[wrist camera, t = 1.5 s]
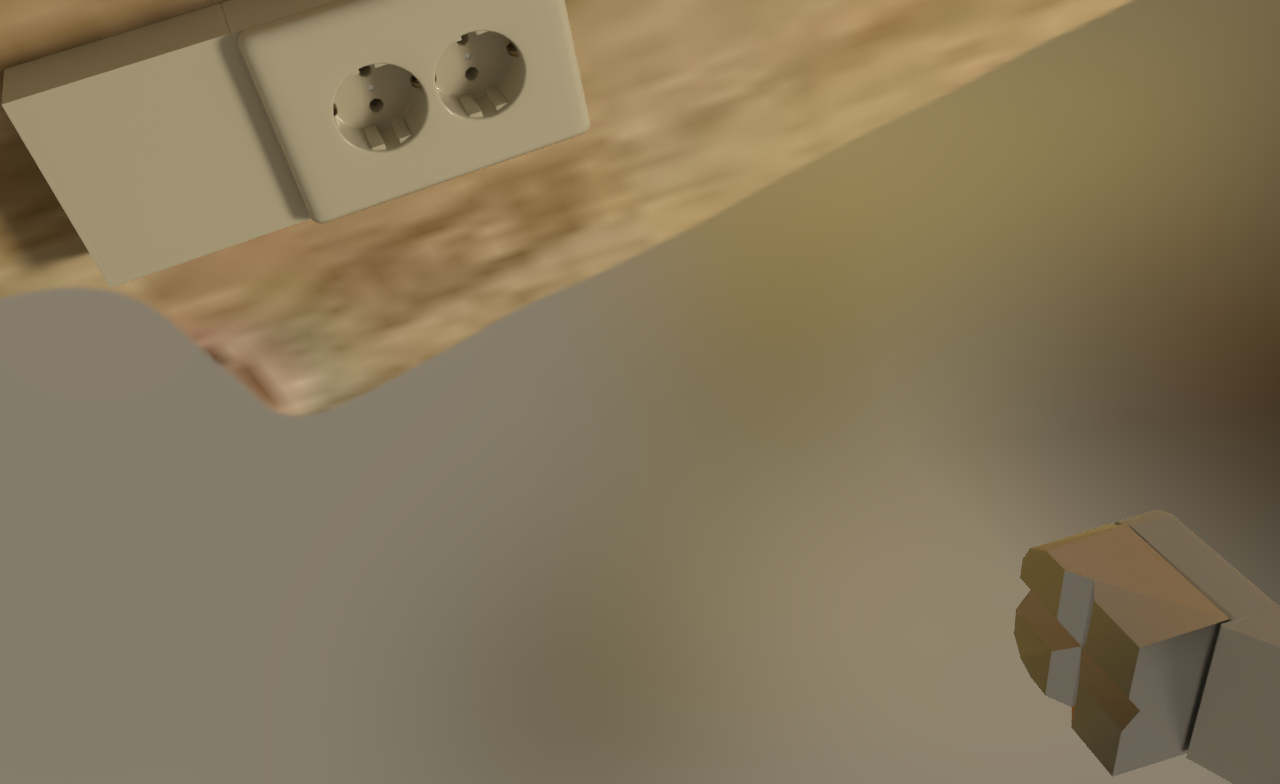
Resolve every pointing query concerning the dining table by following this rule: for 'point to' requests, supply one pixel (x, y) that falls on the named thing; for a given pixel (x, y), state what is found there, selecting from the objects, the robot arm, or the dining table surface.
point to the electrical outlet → (286, 116)
